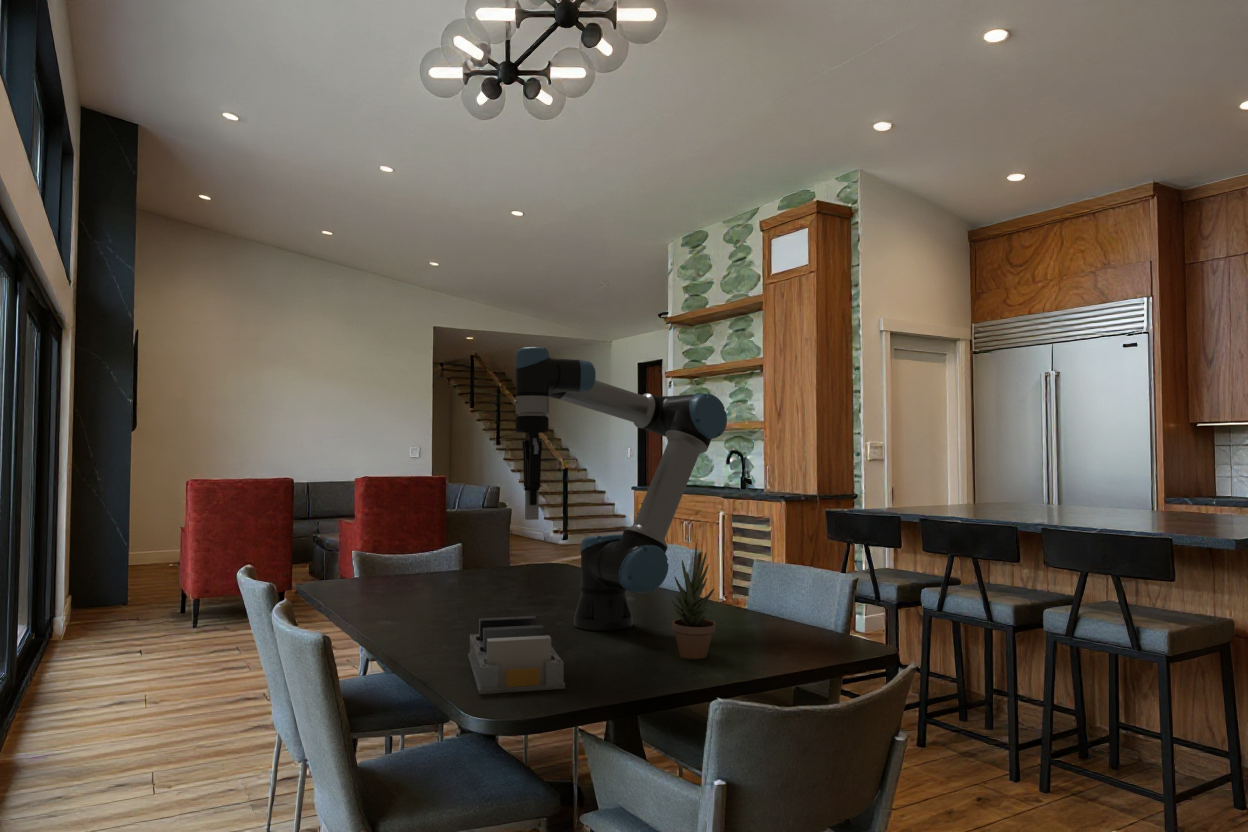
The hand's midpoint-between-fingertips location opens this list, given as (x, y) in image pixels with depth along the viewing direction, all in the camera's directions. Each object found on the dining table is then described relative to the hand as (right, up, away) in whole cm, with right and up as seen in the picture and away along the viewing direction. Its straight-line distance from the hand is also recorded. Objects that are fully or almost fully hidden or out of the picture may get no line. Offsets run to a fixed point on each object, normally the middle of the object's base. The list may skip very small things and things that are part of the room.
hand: (531, 519), depth 189 cm
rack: (-2, -28, -20) cm, 35 cm away
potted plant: (+36, -29, -6) cm, 47 cm away
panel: (+1, -27, -30) cm, 40 cm away
